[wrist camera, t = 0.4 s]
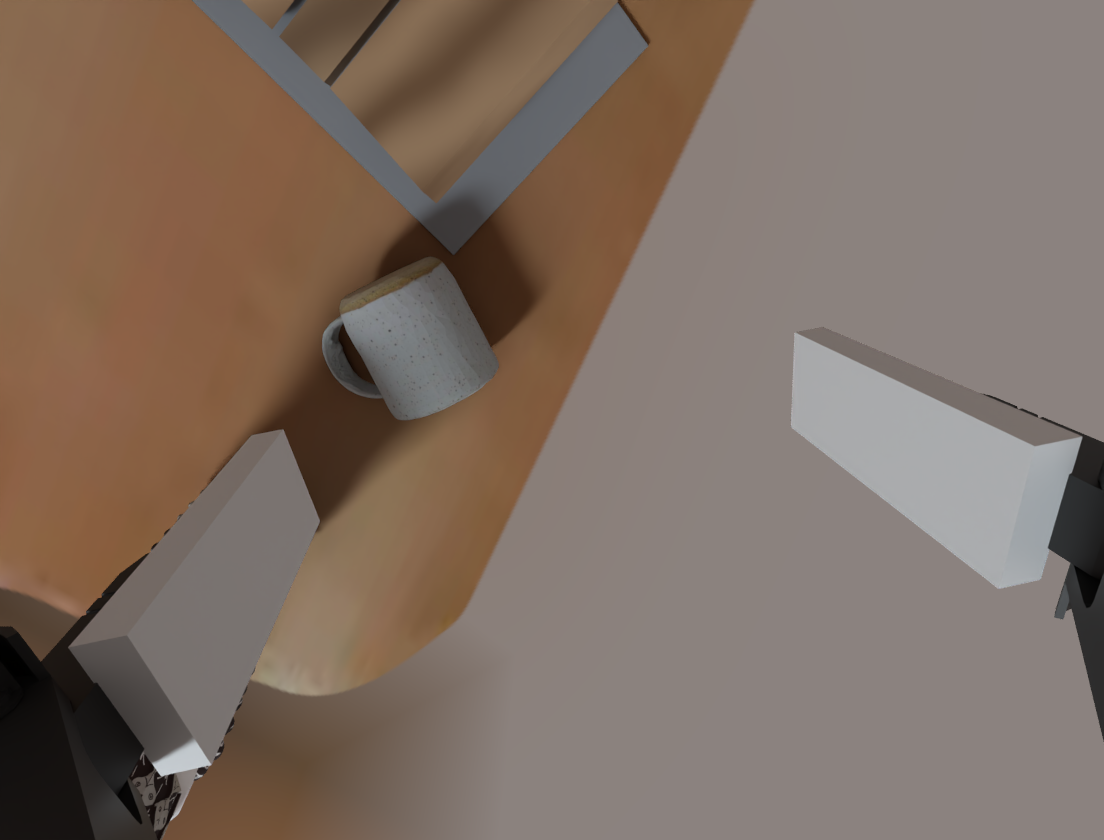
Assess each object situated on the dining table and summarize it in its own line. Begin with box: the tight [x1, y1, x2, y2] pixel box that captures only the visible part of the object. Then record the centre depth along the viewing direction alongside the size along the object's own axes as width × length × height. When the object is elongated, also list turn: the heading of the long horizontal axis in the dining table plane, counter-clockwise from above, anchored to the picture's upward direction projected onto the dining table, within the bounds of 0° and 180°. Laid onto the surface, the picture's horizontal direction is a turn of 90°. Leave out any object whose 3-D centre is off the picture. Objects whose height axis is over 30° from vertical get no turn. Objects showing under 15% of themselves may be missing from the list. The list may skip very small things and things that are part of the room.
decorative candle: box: [129, 489, 255, 840], centre depth 30 cm, size 9×9×25 cm
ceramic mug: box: [322, 257, 499, 420], centre depth 34 cm, size 11×8×8 cm
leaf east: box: [330, 0, 618, 204], centre depth 28 cm, size 9×13×1 cm
